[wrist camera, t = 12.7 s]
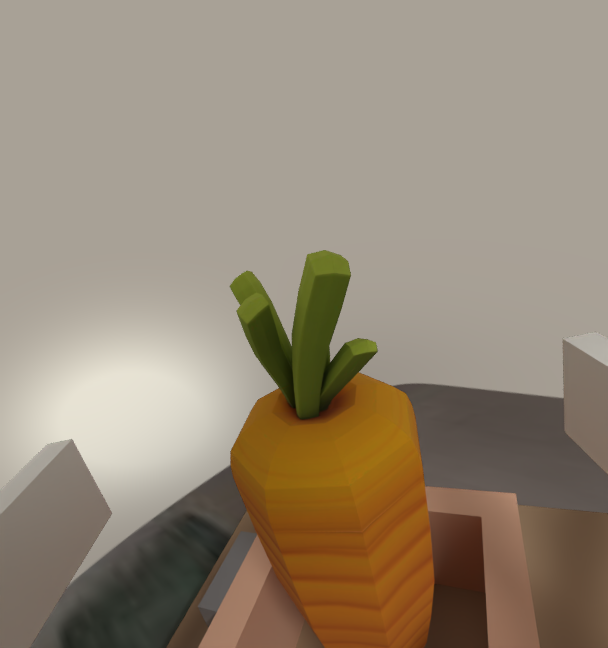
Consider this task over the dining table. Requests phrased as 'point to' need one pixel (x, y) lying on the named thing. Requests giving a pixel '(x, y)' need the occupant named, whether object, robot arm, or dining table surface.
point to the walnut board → (470, 606)
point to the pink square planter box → (448, 563)
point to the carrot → (334, 472)
